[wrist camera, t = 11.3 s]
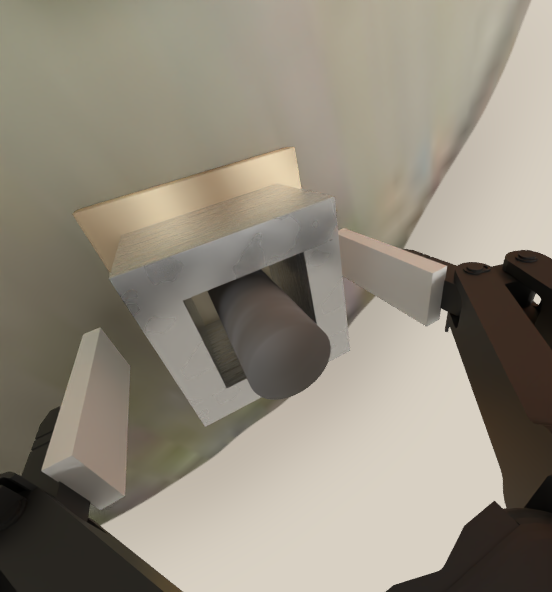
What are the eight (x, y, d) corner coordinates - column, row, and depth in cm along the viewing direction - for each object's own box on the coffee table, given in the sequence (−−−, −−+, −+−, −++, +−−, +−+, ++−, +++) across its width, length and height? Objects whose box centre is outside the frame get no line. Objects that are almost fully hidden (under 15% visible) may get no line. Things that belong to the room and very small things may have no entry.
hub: (189, 355, 19) (205, 426, 14) (121, 234, 14) (108, 278, 9) (301, 304, 21) (349, 350, 16) (276, 183, 16) (334, 196, 11)
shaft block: (176, 367, 20) (197, 517, 12) (77, 209, 14) (-27, 295, 5) (313, 304, 23) (409, 389, 15) (285, 147, 16) (429, 140, 8)
